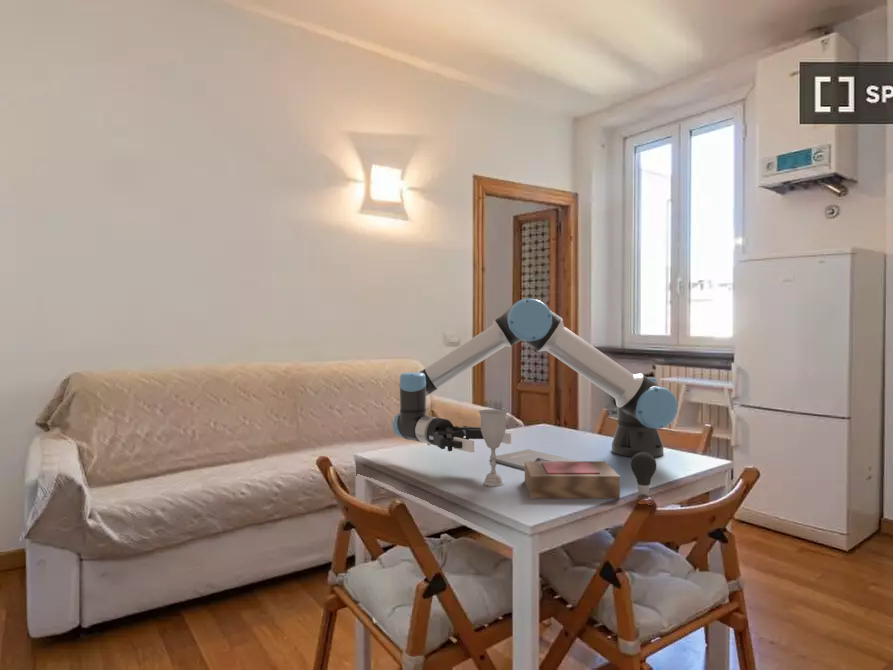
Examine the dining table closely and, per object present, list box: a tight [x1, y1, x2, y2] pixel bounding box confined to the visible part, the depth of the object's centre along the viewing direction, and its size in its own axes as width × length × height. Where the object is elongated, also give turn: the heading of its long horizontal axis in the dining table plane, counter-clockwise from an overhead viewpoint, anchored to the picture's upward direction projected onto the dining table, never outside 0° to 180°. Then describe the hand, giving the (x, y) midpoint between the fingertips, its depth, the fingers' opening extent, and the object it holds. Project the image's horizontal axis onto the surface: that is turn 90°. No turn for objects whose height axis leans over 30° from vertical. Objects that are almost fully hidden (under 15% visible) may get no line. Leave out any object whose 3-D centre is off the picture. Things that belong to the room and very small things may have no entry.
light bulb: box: [630, 452, 657, 497], centre depth 129 cm, size 6×6×10 cm
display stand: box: [524, 460, 621, 499], centre depth 134 cm, size 20×14×5 cm
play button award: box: [489, 449, 577, 471], centre depth 161 cm, size 16×2×20 cm
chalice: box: [478, 408, 508, 487], centre depth 140 cm, size 7×7×18 cm
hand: (492, 442), depth 139 cm, fingers open, 13 cm apart
